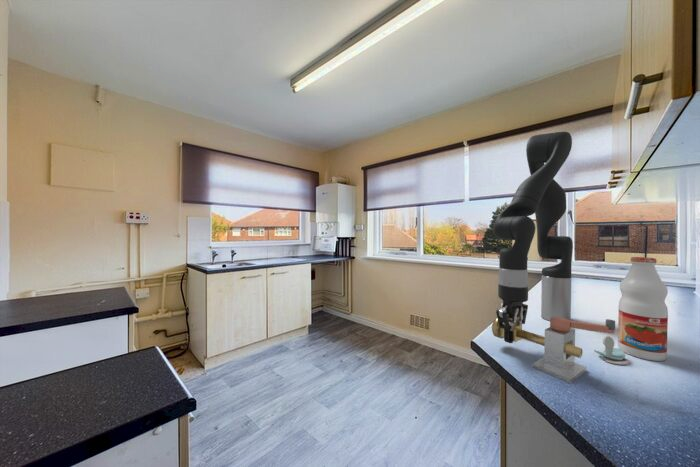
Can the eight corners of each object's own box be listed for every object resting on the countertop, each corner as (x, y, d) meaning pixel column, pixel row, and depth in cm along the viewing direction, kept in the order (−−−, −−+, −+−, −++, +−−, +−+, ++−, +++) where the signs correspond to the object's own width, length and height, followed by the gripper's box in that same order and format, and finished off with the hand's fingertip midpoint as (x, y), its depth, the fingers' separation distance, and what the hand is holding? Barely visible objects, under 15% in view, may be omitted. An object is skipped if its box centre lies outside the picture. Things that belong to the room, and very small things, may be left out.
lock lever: (611, 333, 63) (611, 318, 63) (618, 340, 59) (618, 323, 59) (548, 324, 69) (549, 310, 69) (551, 329, 65) (551, 315, 65)
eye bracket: (549, 357, 72) (550, 320, 72) (586, 370, 66) (587, 330, 65) (532, 367, 67) (533, 328, 67) (570, 383, 60) (571, 339, 60)
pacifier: (636, 365, 69) (610, 353, 74) (638, 342, 68) (612, 332, 74) (614, 368, 67) (589, 355, 73) (616, 345, 67) (591, 334, 73)
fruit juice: (653, 349, 77) (655, 256, 76) (676, 365, 68) (679, 260, 67) (611, 343, 81) (613, 255, 80) (628, 357, 72) (630, 258, 71)
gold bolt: (503, 334, 82) (503, 314, 81) (585, 362, 64) (585, 337, 64) (491, 338, 78) (492, 318, 78) (575, 369, 61) (575, 343, 61)
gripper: (513, 289, 69) (513, 351, 69) (538, 282, 76) (537, 339, 77) (486, 283, 75) (486, 341, 76) (511, 278, 83) (511, 331, 83)
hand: (512, 340), depth 76 cm, fingers closed on gold bolt, 3 cm apart
